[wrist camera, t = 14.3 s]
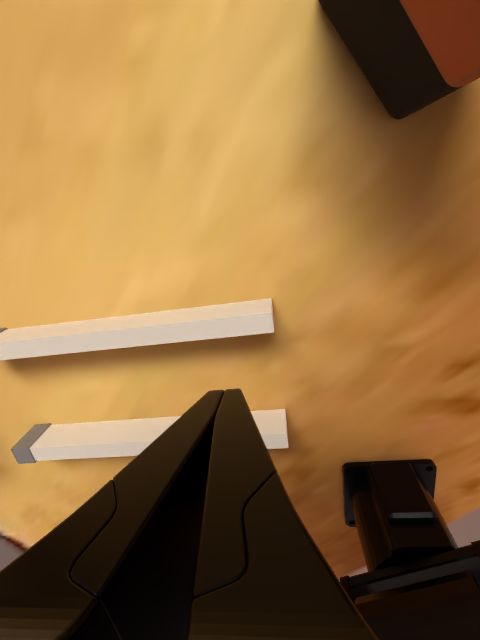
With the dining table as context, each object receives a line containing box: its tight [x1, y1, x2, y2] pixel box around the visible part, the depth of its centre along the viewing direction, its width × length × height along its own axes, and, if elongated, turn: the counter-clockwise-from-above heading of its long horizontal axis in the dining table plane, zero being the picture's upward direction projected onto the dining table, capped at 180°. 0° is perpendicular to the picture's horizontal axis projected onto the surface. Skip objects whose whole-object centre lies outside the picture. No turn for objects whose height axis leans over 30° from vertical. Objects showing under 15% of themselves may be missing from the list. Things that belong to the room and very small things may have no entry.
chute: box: [0, 298, 289, 464], centre depth 22 cm, size 10×20×3 cm, turn 99°
